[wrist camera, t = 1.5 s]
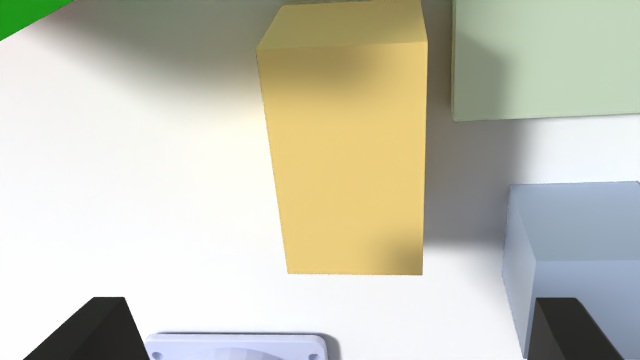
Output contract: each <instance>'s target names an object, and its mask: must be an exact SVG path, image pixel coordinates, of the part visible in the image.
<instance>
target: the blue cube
mask: <svg viewBox="0 0 640 360" xmlns="http://www.w3.org/2000/svg"><path fill="white" fill-rule="evenodd" d="M502 277H503V281H504V285H505V289H506V293H507V297H508V301H509V304H510V308H511V312H512V316H513V320H514V324H515V328H516V332H517V336H518V340H519V344H520V348H521V352H522V356H523V359H528V351H529V344H530V337H531V330H532V322H533V315H534V308H535V301H536V297H575V298H577V299H578V300H579V301H580V302H581V303H582V304H583V306H584V307H585V308H586V310H587V311H588V313H589V314H590V315H591V317H592V318H593V319H594V321H595V322H596V323H597V325H598V326H599V327H600V329H601V330H602V331H603V333H604V334H605V335H606V337H607V338H608V339H609V341H610V342H611V343H612V344H613V346H614V347H615V348H616V350H617V351H618V352H619V353H620V355H621V356H622V357H623V359H624V360H640V185H639V183H638V182H637V181H623V182H588V183H552V184H517V185H510V191H509V202H508V212H507V223H506V234H505V245H504V256H503V267H502Z"/></svg>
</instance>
